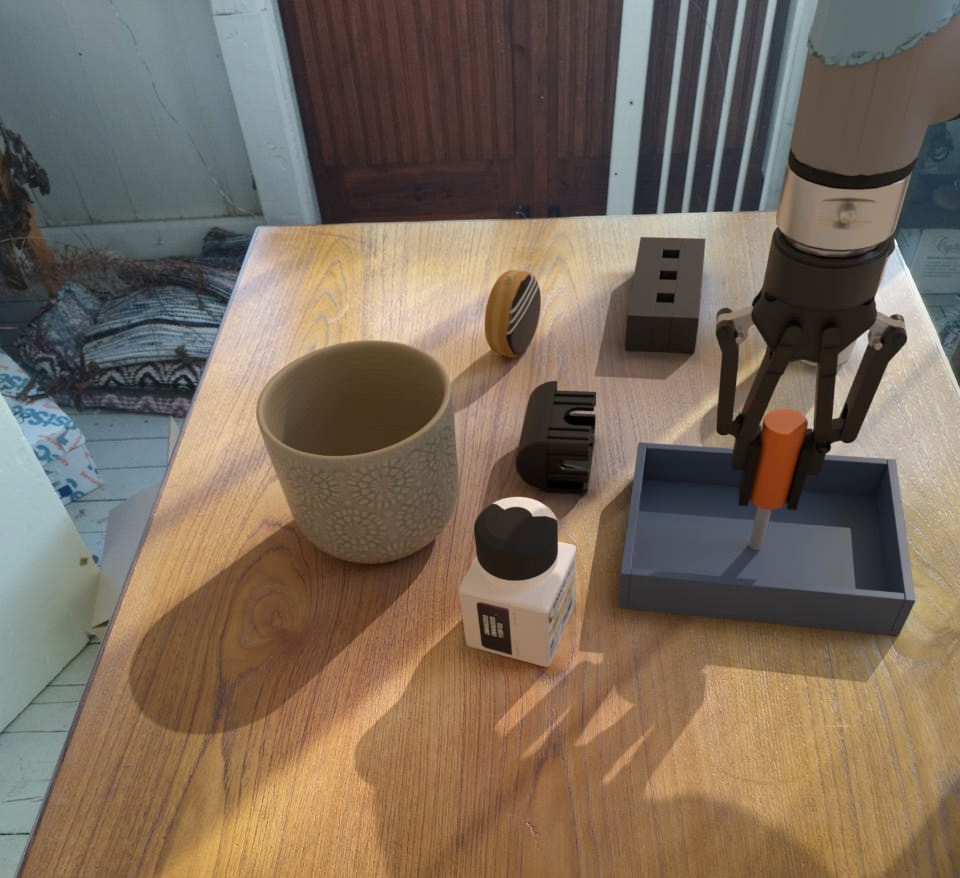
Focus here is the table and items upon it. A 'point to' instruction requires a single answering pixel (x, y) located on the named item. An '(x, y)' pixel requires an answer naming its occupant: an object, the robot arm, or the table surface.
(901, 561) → the bin
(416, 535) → the planter
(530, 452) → the end cap
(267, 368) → the table surface
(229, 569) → the table surface
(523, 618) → the container
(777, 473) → the screwdriver
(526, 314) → the doughnut
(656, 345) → the holder
